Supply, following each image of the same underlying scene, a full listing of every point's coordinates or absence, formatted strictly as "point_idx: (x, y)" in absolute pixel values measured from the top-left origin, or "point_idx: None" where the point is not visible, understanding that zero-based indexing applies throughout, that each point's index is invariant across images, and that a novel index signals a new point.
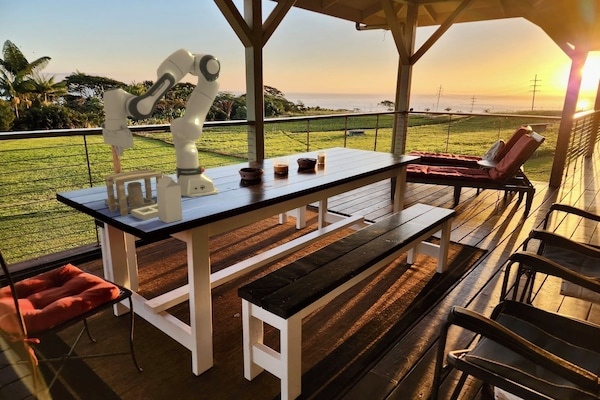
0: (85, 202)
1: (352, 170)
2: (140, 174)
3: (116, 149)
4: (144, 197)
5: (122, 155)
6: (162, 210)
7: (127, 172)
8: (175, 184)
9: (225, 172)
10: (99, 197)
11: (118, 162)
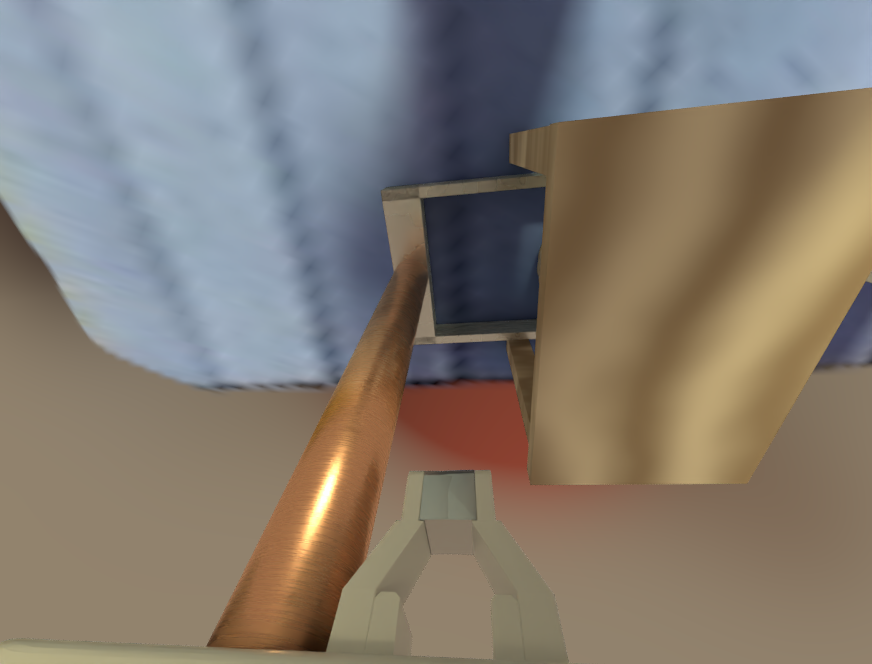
0: (319, 365)
1: None
2: (752, 322)
3: (406, 597)
4: (519, 178)
5: (490, 480)
6: None
7: (566, 361)
8: None
9: None
10: (261, 300)
11: (395, 409)
